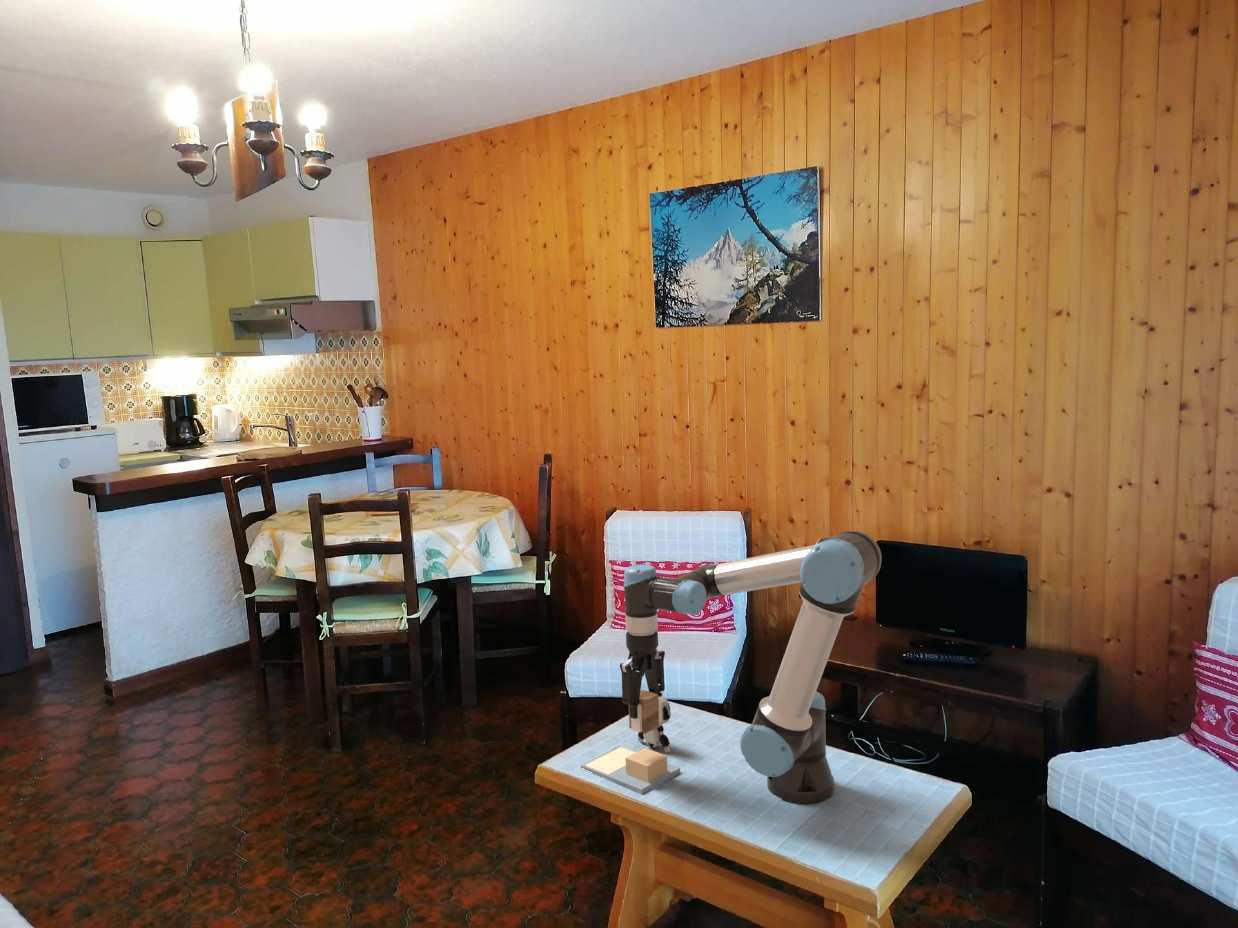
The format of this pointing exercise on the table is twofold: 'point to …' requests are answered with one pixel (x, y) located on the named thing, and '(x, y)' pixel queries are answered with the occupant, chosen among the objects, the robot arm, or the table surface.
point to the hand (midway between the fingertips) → (645, 726)
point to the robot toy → (657, 734)
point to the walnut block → (648, 711)
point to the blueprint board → (632, 780)
